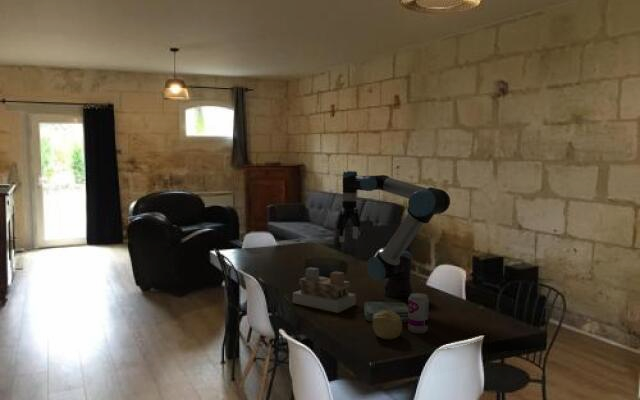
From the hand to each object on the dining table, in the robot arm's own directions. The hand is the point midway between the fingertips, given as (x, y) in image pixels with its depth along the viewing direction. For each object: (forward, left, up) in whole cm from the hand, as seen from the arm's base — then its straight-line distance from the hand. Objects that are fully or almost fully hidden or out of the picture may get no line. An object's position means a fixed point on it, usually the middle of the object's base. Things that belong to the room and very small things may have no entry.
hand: (348, 240), depth 273 cm
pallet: (-4, +29, -22) cm, 36 cm away
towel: (-37, +27, -27) cm, 53 cm away
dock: (-4, +29, -27) cm, 40 cm away
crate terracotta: (-11, +29, -15) cm, 35 cm away
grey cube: (+3, +29, -15) cm, 33 cm away
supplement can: (-56, +37, -27) cm, 72 cm away
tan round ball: (-49, +51, -27) cm, 76 cm away
